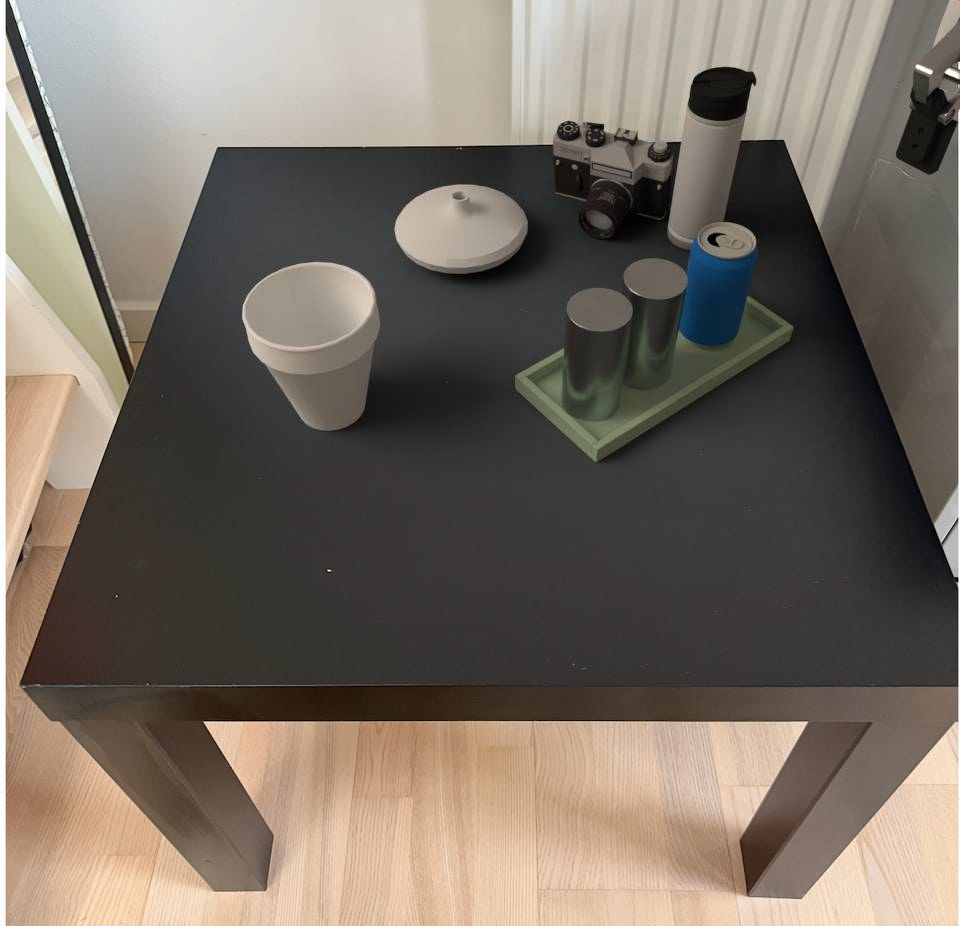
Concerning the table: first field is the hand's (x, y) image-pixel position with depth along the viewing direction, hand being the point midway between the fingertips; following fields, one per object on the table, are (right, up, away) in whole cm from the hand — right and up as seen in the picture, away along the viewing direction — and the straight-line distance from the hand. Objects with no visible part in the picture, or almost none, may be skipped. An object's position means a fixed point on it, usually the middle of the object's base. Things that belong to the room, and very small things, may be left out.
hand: (957, 141), depth 66 cm
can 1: (-24, -17, +25) cm, 39 cm away
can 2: (-18, -14, +28) cm, 36 cm away
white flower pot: (-50, -18, +26) cm, 60 cm away
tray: (-17, -13, +29) cm, 36 cm away
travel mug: (-9, +4, +43) cm, 44 cm away
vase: (-37, +2, +43) cm, 57 cm away
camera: (-20, +7, +46) cm, 50 cm away
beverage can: (-11, -10, +31) cm, 34 cm away
